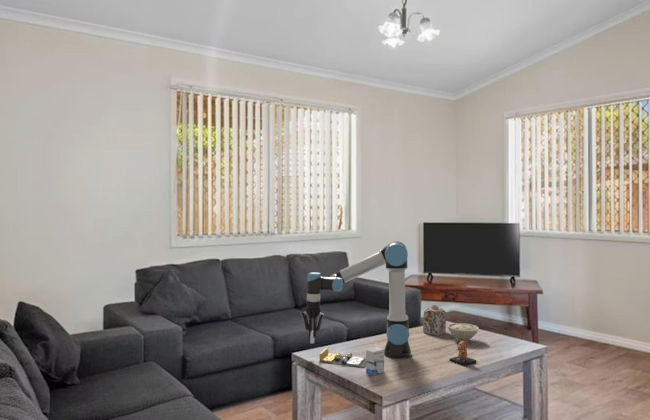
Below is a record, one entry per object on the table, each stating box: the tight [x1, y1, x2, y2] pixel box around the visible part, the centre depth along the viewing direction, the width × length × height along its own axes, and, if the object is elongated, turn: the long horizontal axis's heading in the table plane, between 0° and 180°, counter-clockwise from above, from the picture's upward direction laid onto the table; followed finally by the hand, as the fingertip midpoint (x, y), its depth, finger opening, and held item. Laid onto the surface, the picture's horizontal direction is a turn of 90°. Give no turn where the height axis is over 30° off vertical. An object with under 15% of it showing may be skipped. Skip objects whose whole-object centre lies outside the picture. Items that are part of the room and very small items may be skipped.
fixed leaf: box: [341, 351, 365, 366], centre depth 261 cm, size 10×13×3 cm
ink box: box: [365, 346, 385, 376], centre depth 246 cm, size 9×5×12 cm, turn 129°
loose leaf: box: [319, 347, 342, 363], centre depth 265 cm, size 10×12×4 cm
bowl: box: [446, 322, 479, 343], centre depth 304 cm, size 19×19×10 cm
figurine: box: [449, 340, 477, 367], centre depth 263 cm, size 10×10×12 cm
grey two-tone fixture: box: [318, 354, 366, 369], centre depth 263 cm, size 25×14×1 cm, turn 70°
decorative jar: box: [422, 304, 447, 337], centre depth 322 cm, size 12×12×18 cm
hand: (312, 342), depth 269 cm, fingers closed
